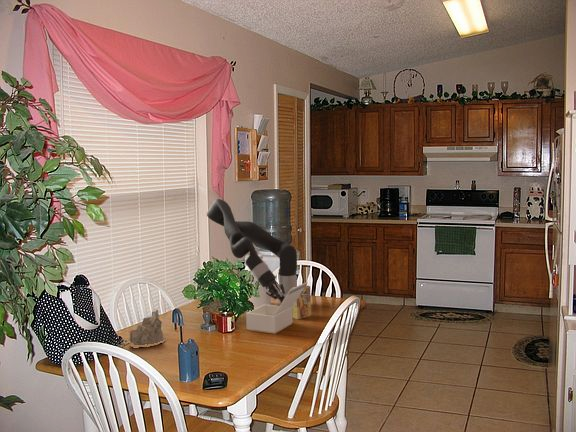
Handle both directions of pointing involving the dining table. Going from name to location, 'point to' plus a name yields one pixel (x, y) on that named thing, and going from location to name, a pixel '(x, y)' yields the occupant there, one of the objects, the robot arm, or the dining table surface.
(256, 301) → the bottle
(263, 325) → the box
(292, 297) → the lid
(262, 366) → the dining table surface
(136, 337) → the grey rock
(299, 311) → the candy box
